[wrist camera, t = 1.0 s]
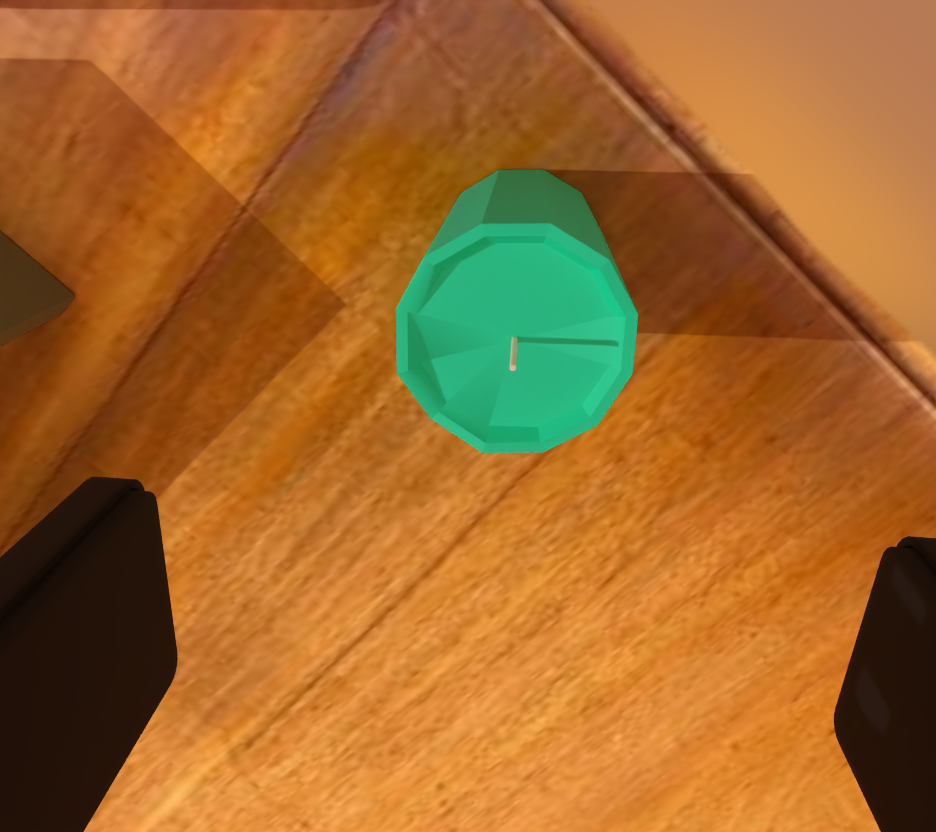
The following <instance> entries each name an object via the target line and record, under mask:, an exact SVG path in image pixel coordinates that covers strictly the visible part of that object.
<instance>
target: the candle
mask: <svg viewBox="0 0 936 832" xmlns="http://www.w3.org/2000/svg"><path fill="white" fill-rule="evenodd" d="M637 322H638V313H637V311H636V308H635V306H634V304H633V302H632V299H631V297H630V295H629V293H628V290H627V288H626V286H625V283H624V281H623V279H622V277H621V274H620V272H619V270H618V268H617V265H616V263H615V261H614V258H613V256H612V254H611V252H610V249H609V247H608V245H607V243H606V240H605V238H604V236H603V233H602V231H601V229H600V227H599V225H598V223H597V221H596V220H595V218H594V216H593V214H592V212H591V210H590V208H589V206H588V204H587V202H586V200H585V198H584V196H583V194H582V192H580V191H578V190H577V189H575V188H573V187H572V186H570V185H568V184H567V183H565V182H563V181H562V180H560V179H559V178H557V177H555V176H554V175H552V174H550V173H549V172H547V171H545V170H498V171H496V172H494V173H493V174H491V175H489V176H488V177H486V178H484V179H483V180H481V181H479V182H478V183H476V184H475V185H473V186H471V187H470V188H468V189H466V190H465V191H463V192H461V194H460V195H459V197H458V199H457V201H456V202H455V204H454V206H453V208H452V209H451V211H450V213H449V214H448V216H447V218H446V220H445V221H444V223H443V225H442V226H441V228H440V230H439V232H438V233H437V235H436V237H435V239H434V240H433V242H432V244H431V245H430V247H429V249H428V251H427V252H426V254H425V256H424V257H423V259H422V261H421V263H420V265H419V267H418V269H417V270H416V272H415V274H414V276H413V278H412V280H411V282H410V283H409V285H408V287H407V289H406V291H405V293H404V295H403V296H402V298H401V300H400V302H399V304H398V306H397V307H396V356H397V374H398V376H399V377H400V378H401V380H402V381H403V382H404V384H405V385H406V386H407V388H408V389H409V390H410V392H411V393H412V394H413V396H414V397H415V398H416V400H417V401H418V402H419V404H420V405H421V407H422V408H423V409H424V411H425V412H426V413H427V415H428V416H429V417H430V419H432V420H433V421H435V422H436V423H438V424H439V425H441V426H442V427H444V428H445V429H447V430H448V431H450V432H451V433H453V434H454V435H456V436H457V437H459V438H461V439H462V440H464V441H465V442H467V443H468V444H470V445H471V446H473V447H474V448H476V449H477V450H479V451H480V452H482V453H525V452H545V451H547V450H549V449H551V448H553V447H555V446H557V445H559V444H561V443H563V442H565V441H567V440H569V439H571V438H573V437H575V436H577V435H579V434H581V433H583V432H585V431H587V430H589V429H591V428H593V427H595V426H597V425H598V424H599V423H600V421H601V420H602V418H603V417H604V415H605V414H606V412H607V411H608V409H609V408H610V406H611V405H612V403H613V402H614V400H615V399H616V397H617V396H618V394H619V393H620V391H621V390H622V389H623V387H624V386H625V384H626V383H627V381H628V380H629V378H630V377H631V375H632V372H633V362H634V352H635V342H636V332H637Z"/></svg>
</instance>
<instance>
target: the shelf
mask: <svg viewBox="0 0 936 832" xmlns="http://www.w3.org/2000/svg"><path fill="white" fill-rule="evenodd" d="M74 297H75V295H74V294H73V293H72V292H71V291H70V290H69V289H67V288H66V287H65V286H64V285H63V284H61V283H60V282H59V281H58V280H57V279H56V278H54V277H53V276H52V275H51V274H50V273H49V272H47V271H46V270H45V269H44V268H43V267H42V266H40V265H39V264H38V263H37V262H36V261H35V260H33V259H32V258H31V257H30V256H29V255H28V254H26V253H25V252H24V251H23V250H22V249H21V248H19V247H18V246H17V245H16V244H15V243H14V242H12V241H11V240H10V239H9V238H8V237H7V236H5V235H4V234H3V233H2V232H1V231H0V346H2V345H4V344H6V343H8V342H10V341H12V340H14V339H16V338H17V337H19V336H21V335H23V334H25V333H27V332H29V331H31V330H33V329H35V328H37V327H39V326H41V325H42V324H44V323H46V322H48V321H50V320H52V319H54V318H56V317H58V316H60V315H61V314H62V313H63V311H64V310H65V309H66V308H67V306H68V305H69V304H70V302H71V301H72V300H73V299H74Z"/></svg>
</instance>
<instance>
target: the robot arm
mask: <svg viewBox="0 0 936 832" xmlns="http://www.w3.org/2000/svg"><path fill="white" fill-rule="evenodd" d="M177 659H178V658H177V647H176V640H175V632H174V625H173V617H172V610H171V602H170V595H169V587H168V580H167V573H166V565H165V558H164V550H163V543H162V535H161V528H160V521H159V513H158V506H157V501H156V497H155V495H154V494H153V493H152V492H148V491H145V490H144V487H143V486H142V484H141V482H139V481H138V480H135V479H121V478H107V477H91V478H89V479H87V480H86V481H85V482H84V483H83V484H81V485H80V486H79V487H78V488H77V489H76V490H75V491H74V492H73V493H71V494H70V495H69V496H68V497H67V498H66V499H65V500H64V501H63V502H61V503H60V504H59V505H58V506H57V507H56V508H55V509H54V510H53V511H51V512H50V513H49V514H48V515H47V516H46V517H45V518H44V519H43V520H41V521H40V522H39V523H38V524H37V525H36V526H35V527H34V528H33V529H31V530H30V531H29V532H28V533H27V534H26V535H25V536H24V537H23V538H21V539H20V540H19V541H18V542H17V543H16V544H15V545H14V546H13V547H11V548H10V549H9V550H8V551H7V552H6V553H5V554H4V555H3V556H1V557H0V832H84V830H85V828H86V827H87V825H88V823H89V822H90V820H91V818H92V817H93V815H94V813H95V811H96V810H97V808H98V806H99V805H100V803H101V801H102V800H103V798H104V796H105V795H106V793H107V791H108V790H109V788H110V786H111V784H112V783H113V781H114V779H115V778H116V776H117V774H118V773H119V771H120V769H121V768H122V766H123V764H124V763H125V761H126V759H127V757H128V756H129V754H130V752H131V751H132V749H133V747H134V746H135V744H136V742H137V741H138V739H139V737H140V735H141V734H142V732H143V730H144V729H145V727H146V725H147V724H148V722H149V720H150V719H151V717H152V715H153V714H154V712H155V710H156V708H157V707H158V705H159V703H160V702H161V700H162V698H163V697H164V695H165V693H166V692H167V690H168V688H169V687H170V685H171V683H172V681H173V678H174V675H175V672H176V667H177ZM834 727H835V733H836V737H837V740H838V742H839V744H840V747H841V749H842V751H843V753H844V755H845V757H846V759H847V761H848V763H849V766H850V768H851V770H852V772H853V774H854V776H855V778H856V780H857V782H858V784H859V787H860V789H861V791H862V793H863V795H864V797H865V799H866V801H867V803H868V806H869V808H870V810H871V812H872V814H873V816H874V818H875V820H876V822H877V825H878V827H879V829H880V831H881V832H936V538H923V537H910V536H908V537H905V538H903V539H902V540H901V541H900V542H899V543H898V545H897V547H889V548H887V549H886V550H885V552H884V553H883V556H882V558H881V561H880V564H879V568H878V571H877V574H876V577H875V581H874V584H873V587H872V590H871V594H870V597H869V600H868V603H867V607H866V610H865V613H864V617H863V620H862V623H861V626H860V630H859V633H858V636H857V639H856V643H855V646H854V649H853V652H852V656H851V659H850V662H849V665H848V669H847V672H846V675H845V678H844V682H843V685H842V688H841V692H840V695H839V698H838V701H837V705H836V708H835V713H834Z"/></svg>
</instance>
